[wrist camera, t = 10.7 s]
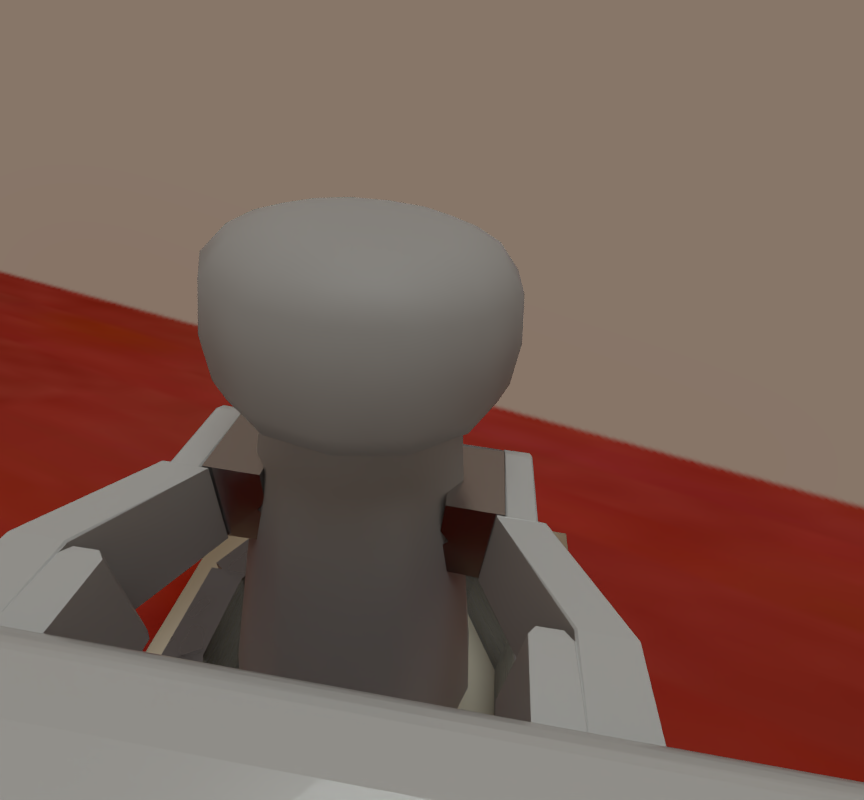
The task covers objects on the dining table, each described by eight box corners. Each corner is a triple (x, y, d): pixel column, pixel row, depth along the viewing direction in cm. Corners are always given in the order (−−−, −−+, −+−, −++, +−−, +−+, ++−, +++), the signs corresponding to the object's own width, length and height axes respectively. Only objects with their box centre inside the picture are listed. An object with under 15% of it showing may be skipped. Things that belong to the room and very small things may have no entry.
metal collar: (520, 567, 18) (539, 519, 16) (537, 978, 10) (577, 978, 8) (275, 526, 18) (264, 475, 16) (95, 888, 10) (37, 867, 8)
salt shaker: (293, 888, 10) (90, 391, 2) (227, 650, 13) (69, 169, 6) (497, 723, 13) (711, 270, 5) (396, 566, 16) (435, 173, 9)
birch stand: (556, 554, 20) (565, 533, 19) (625, 1163, 9) (655, 1183, 8) (254, 503, 21) (249, 482, 20) (-37, 1016, 9) (-79, 1021, 9)
